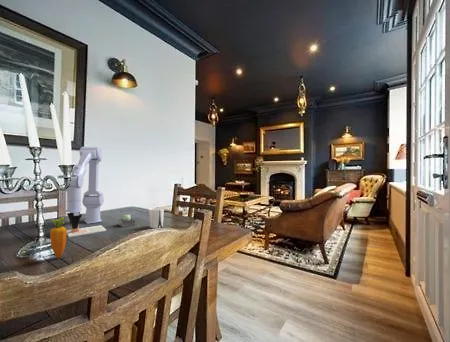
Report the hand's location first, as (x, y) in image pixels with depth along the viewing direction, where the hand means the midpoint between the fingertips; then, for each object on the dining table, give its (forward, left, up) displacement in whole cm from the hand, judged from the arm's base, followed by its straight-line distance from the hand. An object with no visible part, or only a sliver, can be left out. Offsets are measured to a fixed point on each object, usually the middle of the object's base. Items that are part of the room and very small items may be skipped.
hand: (74, 227), depth 113 cm
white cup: (+15, +36, -3) cm, 39 cm away
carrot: (+32, -9, -3) cm, 33 cm away
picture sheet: (0, +5, -3) cm, 6 cm away
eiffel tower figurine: (+28, +32, -3) cm, 42 cm away
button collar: (+1, +25, -3) cm, 25 cm away
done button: (+1, +25, -1) cm, 25 cm away
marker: (0, 0, -2) cm, 2 cm away
